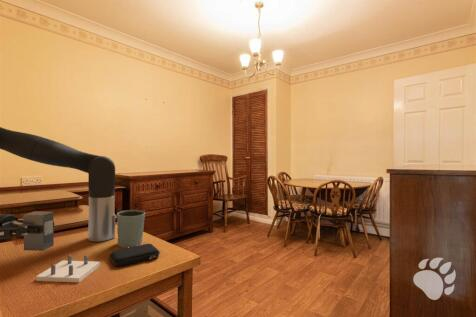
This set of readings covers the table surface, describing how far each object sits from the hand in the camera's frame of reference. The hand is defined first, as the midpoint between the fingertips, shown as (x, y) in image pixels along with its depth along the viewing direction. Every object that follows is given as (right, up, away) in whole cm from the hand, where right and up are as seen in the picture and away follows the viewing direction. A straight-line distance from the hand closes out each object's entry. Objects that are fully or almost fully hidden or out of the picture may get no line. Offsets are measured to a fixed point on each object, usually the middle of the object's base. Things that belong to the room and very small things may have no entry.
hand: (47, 227), depth 78 cm
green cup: (+18, -12, +19) cm, 29 cm away
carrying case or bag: (+25, -13, +6) cm, 29 cm away
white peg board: (+10, -12, -5) cm, 17 cm away
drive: (-3, -7, 0) cm, 7 cm away
